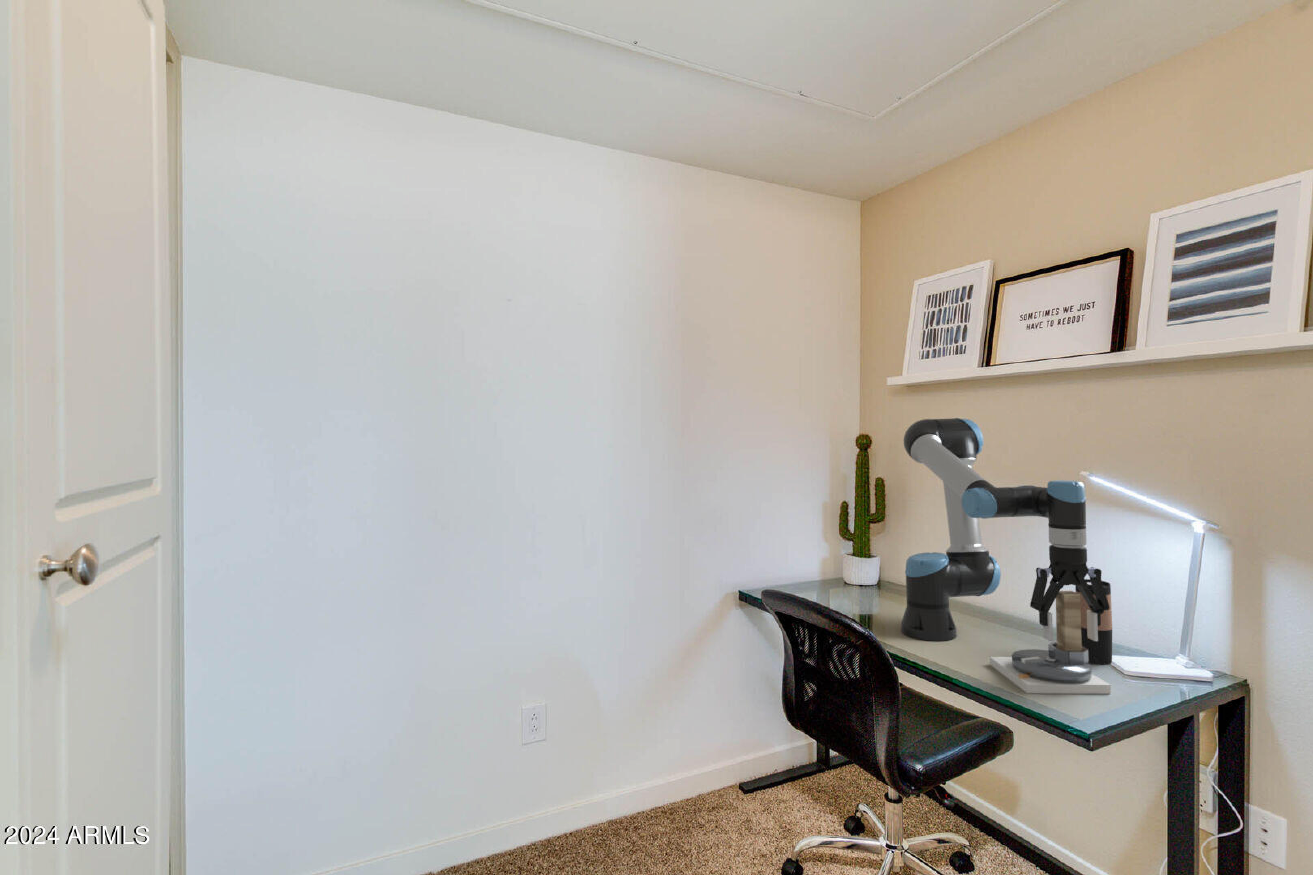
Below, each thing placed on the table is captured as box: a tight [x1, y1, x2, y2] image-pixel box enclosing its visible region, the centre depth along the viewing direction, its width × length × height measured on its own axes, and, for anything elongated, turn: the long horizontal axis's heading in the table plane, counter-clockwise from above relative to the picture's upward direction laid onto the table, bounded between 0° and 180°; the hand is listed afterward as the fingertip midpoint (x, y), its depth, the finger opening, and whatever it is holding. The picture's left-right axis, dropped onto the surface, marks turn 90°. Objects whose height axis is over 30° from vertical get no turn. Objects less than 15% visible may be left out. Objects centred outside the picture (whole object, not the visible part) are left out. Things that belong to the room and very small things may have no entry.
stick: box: [1055, 590, 1082, 651], centre depth 147 cm, size 4×4×16 cm
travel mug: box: [1074, 578, 1113, 665], centre depth 159 cm, size 8×8×20 cm
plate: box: [989, 656, 1112, 695], centre depth 148 cm, size 18×18×2 cm
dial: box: [1011, 641, 1093, 682], centre depth 146 cm, size 16×16×5 cm
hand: (1070, 639), depth 147 cm, fingers open, 9 cm apart
